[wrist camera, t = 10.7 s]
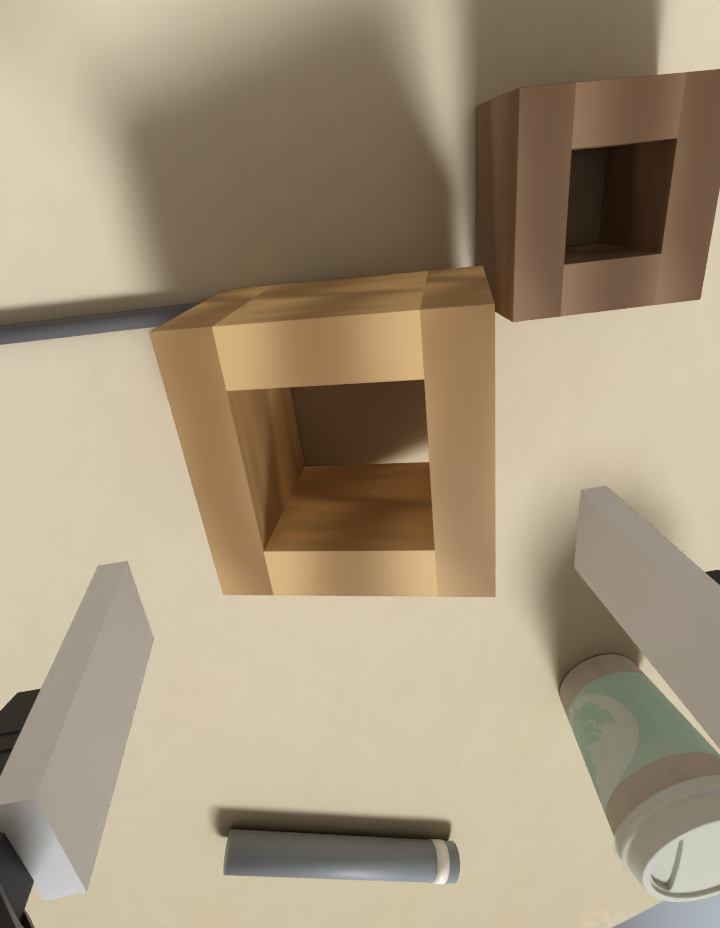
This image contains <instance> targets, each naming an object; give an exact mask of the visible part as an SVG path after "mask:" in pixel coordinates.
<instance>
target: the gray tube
mask: <svg viewBox="0 0 720 928" xmlns="http://www.w3.org/2000/svg"><path fill="white" fill-rule="evenodd" d="M459 872H460V859H459V853H458V849H457V846H456V844H455V843H454V842H453V841H443V840H440V839H428V840H423V839H405V838H387V837H369V836H350V835H332V834H314V833H295V832H277V831H259V830H241V829H230V831H229V835H228V839H227V844H226V851H225V858H224V875H237V876H264V877H291V878H318V879H345V880H372V881H399V882H426V883H431V884H445V883H456V882H457V880H458V877H459Z"/></svg>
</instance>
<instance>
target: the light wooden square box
mask: <svg viewBox="0 0 720 928" xmlns="http://www.w3.org/2000/svg"><path fill="white" fill-rule="evenodd" d="M149 333H150V337H151V340H152V344H153V347H154V351H155V354H156V358H157V361H158V365H159V369H160V372H161V376H162V379H163V383H164V386H165V390H166V393H167V397H168V400H169V404H170V408H171V411H172V415H173V418H174V422H175V425H176V429H177V432H178V436H179V440H180V443H181V447H182V450H183V454H184V457H185V461H186V464H187V468H188V472H189V475H190V479H191V482H192V486H193V489H194V493H195V496H196V500H197V503H198V507H199V511H200V514H201V518H202V521H203V525H204V528H205V532H206V535H207V539H208V543H209V546H210V550H211V553H212V557H213V560H214V564H215V567H216V571H217V575H218V578H219V582H220V585H221V589H222V592H223V595H315V596H439V597H495V303H494V300H493V297H492V294H491V291H490V287H489V284H488V281H487V278H486V275H485V272H484V268H483V266H474V267H463V268H453V269H442V270H431V271H420V272H409V273H399V274H388V275H377V276H366V277H356V278H345V279H334V280H323V281H312V282H302V283H291V284H280V285H269V286H258V287H248V288H238V289H230V290H224V291H222V292H220V293H218V294H216V295H215V296H213V297H211V298H209V299H207V300H206V301H204V302H202V303H200V304H198V305H197V306H195V307H193V308H191V309H189V310H187V311H186V312H184V313H182V314H180V315H178V316H177V317H175V318H173V319H171V320H169V321H168V322H166V323H164V324H162V325H160V326H159V327H157V328H155V329H153V330H151V331H150V332H149ZM422 379H424V384H425V400H426V416H427V432H428V449H429V462H420V463H390V464H360V465H330V466H305V465H304V459H303V454H302V448H301V442H300V437H299V431H298V425H297V419H296V414H295V408H294V402H293V397H292V391H291V387H304V386H321V385H338V384H355V383H372V382H389V381H405V380H422Z"/></svg>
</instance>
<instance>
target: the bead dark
mask: <svg viewBox="0 0 720 928" xmlns="http://www.w3.org/2000/svg"><path fill="white" fill-rule="evenodd" d="M602 147H608V149H607V160H606V171H605V182H604V193H603V204H602V215H601V226H600V236H599V243H593V244H584V245H575V246H566V247H565V242H566V227H567V212H568V197H569V183H570V168H571V153H572V150H582V149H592V148H602ZM719 189H720V69H716V70H705V71H695V72H684V73H673V74H663V75H652V76H641V77H630V78H620V79H609V80H598V81H588V82H577V83H566V84H555V85H545V86H534V87H523V88H518V89H516V90H514V91H511V92H509V93H507V94H504V95H502V96H500V97H497V98H495V99H493V100H490V101H488V102H486V103H483V104H481V105H479V106H476V266H483V268H484V272H485V275H486V278H487V281H488V284H489V287H490V291H491V294H492V297H493V300H494V303H495V312H497V313H498V314H500V315H502V316H503V317H505V318H507V319H509V320H510V321H512V322H518V321H526V320H534V319H542V318H551V317H559V316H567V315H576V314H584V313H592V312H600V311H609V310H617V309H625V308H633V307H642V306H650V305H658V304H666V303H675V302H683V301H691V300H699V299H700V298H701V292H702V286H703V281H704V275H705V269H706V263H707V258H708V252H709V246H710V241H711V235H712V229H713V223H714V218H715V212H716V206H717V200H718V195H719Z"/></svg>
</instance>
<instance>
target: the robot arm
mask: <svg viewBox="0 0 720 928" xmlns="http://www.w3.org/2000/svg"><path fill="white" fill-rule="evenodd" d="M574 568H575V570H576V571H577V572H578V573H579V575H580V576H581V577H582V578H583V580H584V581H585V582H586V583H587V585H588V586H589V587H590V588H591V590H592V591H593V592H594V593H595V595H596V596H597V597H598V598H599V600H600V601H601V602H602V603H603V604H604V606H605V607H606V608H607V609H608V611H609V612H610V613H611V614H612V616H613V617H614V618H615V619H616V621H617V622H618V623H619V624H620V626H621V627H622V628H623V629H624V631H625V632H626V633H627V634H628V636H629V637H630V638H631V639H632V640H633V642H634V643H635V644H636V645H637V647H638V648H639V649H640V650H641V652H642V653H643V654H644V655H645V657H646V658H647V659H648V660H649V662H650V663H651V664H652V665H653V667H654V668H655V669H656V670H657V672H658V673H659V674H660V675H661V676H662V678H663V679H664V680H665V681H666V683H667V684H668V685H669V686H670V688H671V689H672V690H673V691H674V693H675V694H676V695H677V696H678V698H679V699H680V700H681V701H682V703H683V704H684V705H685V706H686V708H687V709H688V710H689V711H690V712H691V714H692V715H693V716H694V717H695V719H696V720H697V721H698V722H699V724H700V725H701V726H702V727H703V729H704V730H705V731H706V732H707V734H708V735H709V736H710V737H711V739H712V740H713V741H714V742H715V744H716V745H717V746H718V747H719V748H720V570H714V571H708V572H704V571H703V570H702V569H701V568H699V567H698V566H697V565H696V564H695V563H694V562H693V561H691V560H690V559H689V558H688V557H687V556H686V555H685V554H683V553H682V552H681V551H680V550H679V549H678V548H677V547H675V546H674V545H673V544H672V543H671V542H670V541H669V540H668V539H666V538H665V537H664V536H663V535H662V534H661V533H660V532H658V531H657V530H656V529H655V528H654V527H653V526H652V525H650V524H649V523H648V522H647V521H646V520H645V519H644V518H642V517H641V516H640V515H639V514H638V513H637V512H636V511H634V510H633V509H632V508H631V507H630V506H629V505H628V504H626V503H625V502H624V501H623V500H622V499H621V498H620V497H618V496H617V495H616V494H615V493H614V492H613V491H612V490H610V489H609V488H608V487H607V486H602V487H596V488H590V489H583V490H581V495H580V506H579V517H578V528H577V539H576V550H575V561H574ZM153 640H154V638H153V635H152V632H151V629H150V626H149V623H148V620H147V617H146V614H145V611H144V608H143V605H142V603H141V600H140V597H139V594H138V591H137V588H136V585H135V582H134V579H133V576H132V573H131V570H130V567H129V564H128V561H125V562H119V563H113V564H106V565H100V566H98V567H97V569H96V572H95V574H94V576H93V578H92V580H91V582H90V584H89V587H88V589H87V591H86V593H85V595H84V597H83V599H82V602H81V604H80V606H79V608H78V610H77V612H76V615H75V617H74V619H73V621H72V623H71V625H70V627H69V630H68V632H67V634H66V636H65V638H64V640H63V642H62V645H61V647H60V649H59V651H58V653H57V655H56V657H55V660H54V662H53V664H52V666H51V668H50V670H49V673H48V675H47V677H46V679H45V681H44V683H43V685H42V688H41V689H36V690H31V691H25V692H19V693H17V694H16V695H15V696H14V697H13V698H12V699H11V700H10V701H9V702H8V703H7V704H6V706H5V707H4V708H3V709H2V710H1V711H0V928H35V927H34V925H33V923H32V921H31V919H30V917H29V915H28V914H27V912H26V911H25V906H26V903H27V900H28V897H29V894H30V891H31V889H32V886H33V884H34V886H35V888H36V889H37V891H38V892H39V894H40V896H41V897H42V899H43V900H44V901H47V900H52V899H57V898H62V897H67V896H72V895H77V894H81V893H86V892H87V890H88V886H89V882H90V878H91V875H92V871H93V867H94V863H95V859H96V856H97V852H98V848H99V844H100V841H101V837H102V833H103V829H104V825H105V822H106V818H107V814H108V810H109V807H110V803H111V799H112V795H113V791H114V788H115V784H116V780H117V776H118V772H119V769H120V765H121V761H122V757H123V754H124V750H125V746H126V742H127V738H128V735H129V731H130V727H131V723H132V720H133V716H134V712H135V708H136V704H137V701H138V697H139V693H140V689H141V685H142V682H143V678H144V674H145V670H146V667H147V663H148V659H149V655H150V651H151V648H152V644H153Z"/></svg>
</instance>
